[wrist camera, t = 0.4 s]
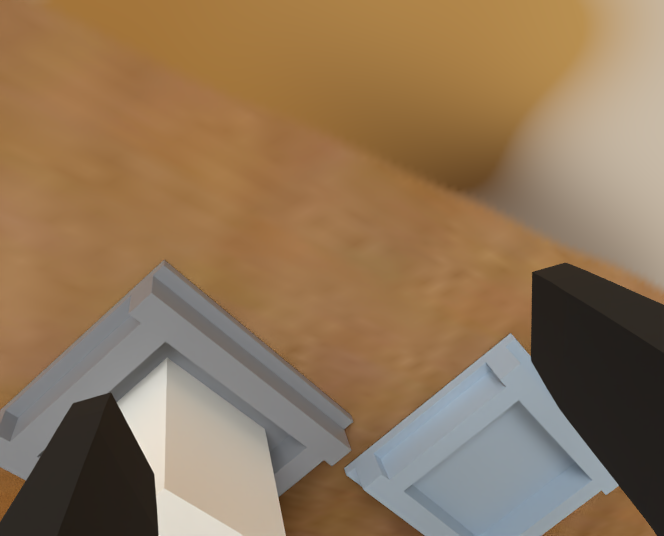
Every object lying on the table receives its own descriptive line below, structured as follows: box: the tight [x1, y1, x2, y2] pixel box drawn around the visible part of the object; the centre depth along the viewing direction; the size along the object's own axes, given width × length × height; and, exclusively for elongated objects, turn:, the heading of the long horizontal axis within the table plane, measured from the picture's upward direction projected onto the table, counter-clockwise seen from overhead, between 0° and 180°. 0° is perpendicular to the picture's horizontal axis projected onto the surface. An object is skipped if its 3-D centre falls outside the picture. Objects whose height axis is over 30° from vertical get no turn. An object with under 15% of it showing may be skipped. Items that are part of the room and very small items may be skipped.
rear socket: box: [344, 333, 619, 536], centre depth 27 cm, size 9×10×2 cm
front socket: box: [0, 260, 353, 497], centre depth 22 cm, size 9×10×2 cm
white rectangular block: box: [117, 358, 286, 536], centre depth 20 cm, size 4×5×6 cm
